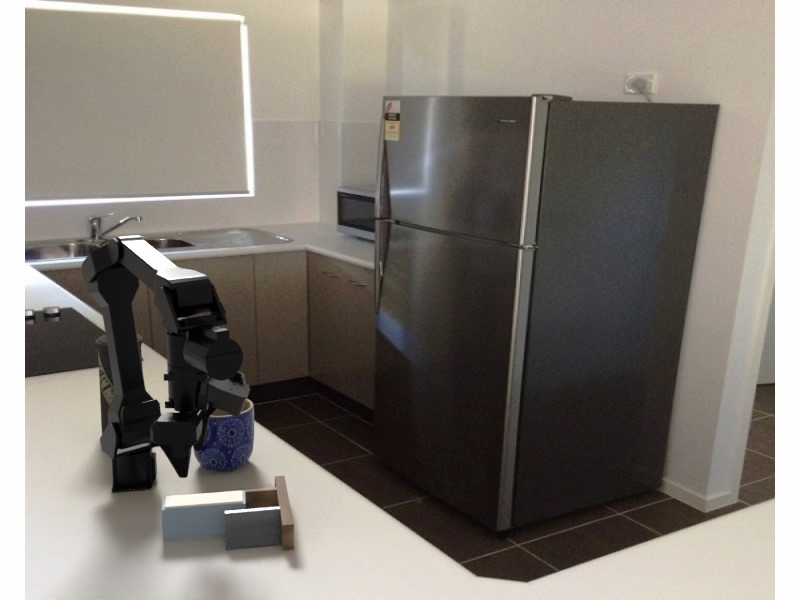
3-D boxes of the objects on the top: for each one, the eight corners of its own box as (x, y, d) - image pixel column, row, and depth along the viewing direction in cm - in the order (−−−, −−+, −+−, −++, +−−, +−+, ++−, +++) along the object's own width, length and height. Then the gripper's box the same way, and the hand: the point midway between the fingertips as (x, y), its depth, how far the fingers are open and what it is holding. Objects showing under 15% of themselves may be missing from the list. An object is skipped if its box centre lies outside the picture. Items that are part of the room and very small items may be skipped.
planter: (242, 480, 131) (240, 419, 129) (182, 474, 133) (180, 413, 130) (263, 454, 142) (262, 397, 139) (207, 449, 143) (206, 393, 141)
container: (90, 436, 148) (84, 337, 143) (123, 421, 156) (118, 326, 151) (126, 444, 144) (120, 343, 140) (157, 428, 153) (153, 332, 148)
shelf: (225, 556, 108) (225, 530, 107) (224, 502, 123) (224, 480, 122) (293, 549, 110) (293, 524, 109) (284, 497, 125) (284, 475, 124)
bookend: (225, 550, 109) (225, 521, 108) (225, 538, 112) (224, 510, 111) (281, 544, 111) (281, 516, 110) (280, 533, 114) (279, 506, 113)
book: (162, 541, 112) (161, 508, 111) (165, 527, 116) (163, 495, 114) (246, 534, 114) (245, 501, 113) (245, 520, 118) (245, 489, 117)
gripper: (232, 385, 100) (234, 494, 103) (255, 345, 118) (256, 439, 121) (146, 383, 99) (151, 492, 103) (183, 343, 118) (186, 437, 121)
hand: (191, 463), depth 112 cm, fingers open, 9 cm apart
